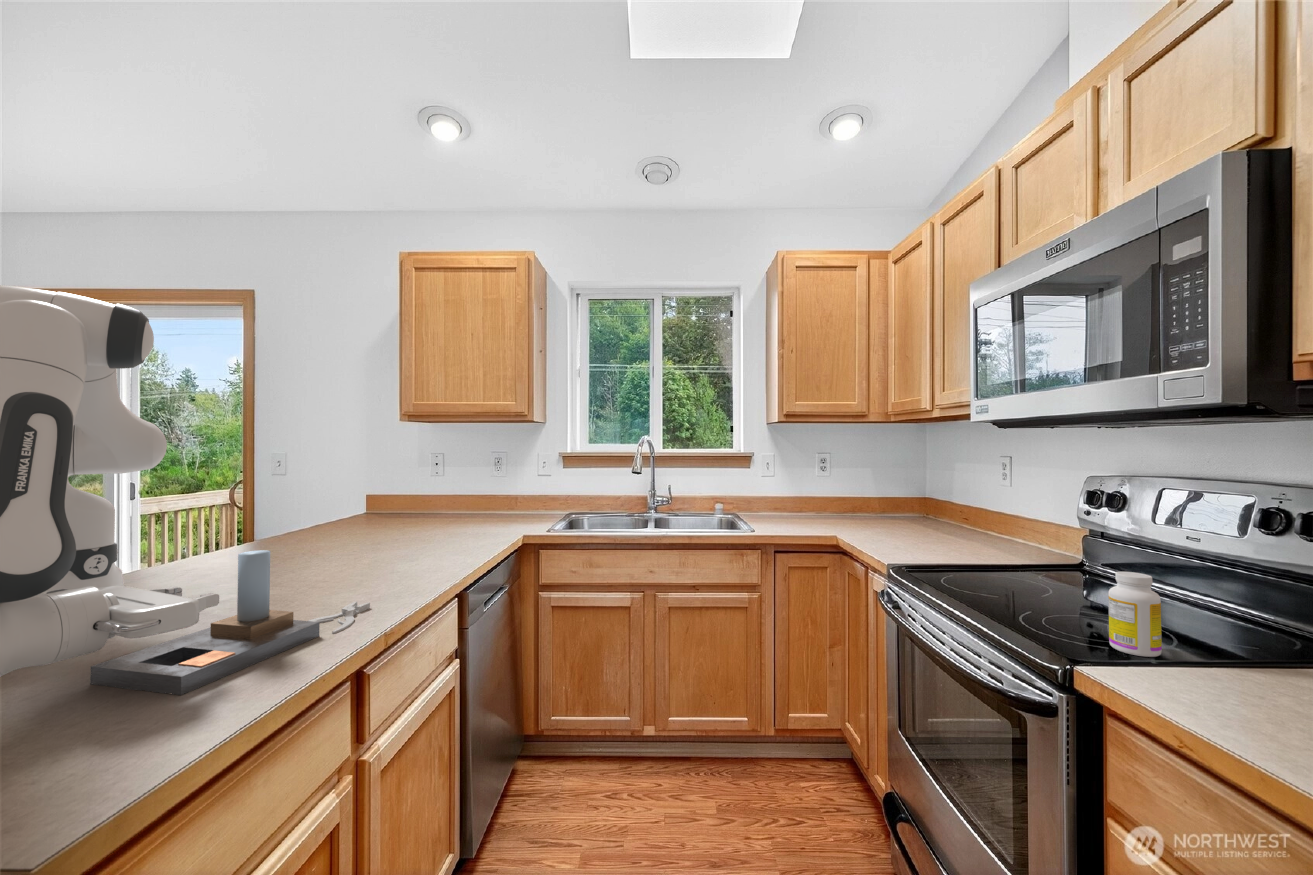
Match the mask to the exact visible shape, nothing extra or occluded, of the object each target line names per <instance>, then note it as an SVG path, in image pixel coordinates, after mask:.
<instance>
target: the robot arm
mask: <svg viewBox="0 0 1313 875" xmlns="http://www.w3.org/2000/svg"><path fill="white" fill-rule="evenodd" d="M149 320H150V319H149V318H148V317H147V316H146V315H145V314H144V313H143V312H142V311H140V310H138V309H136V308H133V307H131V306H127V305H125V304H122V303H121V304H120V303H116V304H113V303H109V302H106V301H103V300H99V299H94V298H91V297H87V296H82V295H78V294H73V293H68V292H63V291H57V292H56V291H51V290H45V289H37V288H31V287H22V286H15V285H14V286H13V285H2V284H1V285H0V677H2V676H4V675H7V674H9V673H11V672H14V671H16V670H19V669H23V668H28V667H29V668H30V667H40V666H46V665H50V664H54V663H59V662H62V661H65V660H69V659H74V658H77V657H81V656H84V655H87V654H91V653H96V652H99V651H100V650H101V649H102V648H104V647H105V645H106V643H107V641H108V640H109V639H112V638H115V636H117V637H121V638H125V639H141V638H147V637H151V636H157V635H160V634H161V635H162V634H166V633H170V632H175V631H179V630H183V629H187V628H191V627H193V626H194V625H196V624H198V623H199V622H200V613H201V612H203V611H204V610H206V609H209V608H212V607H216V606H218V605H219V604H220V595H219V594H218V593H214V592H210V593H205V594H201V595H199V596H198V597H195V598H191V597H186V596H183V588H182V587H180V586H175V585H174V586H170V587H163V588H162V587H161V588H148V589H145V588H139V587H134V586H129V585H124V584H125V583H124V575H123V570H122V569H121V568H120V567H119V566H117V565H116V562H118V554H119V549H118V543H116V542H115V529H116V528H115V527H116V526H115V524H116V522H115V521H116V520H115V518H116V516H115V515H116V510H115V507H114V505H113V503H112V502H111V501H109V499H107V498H105V497H103V496H101V495H98V494H95V493H93V492H88V491H85V490H82V489H79V488H76V487H74V486H73V485H72V484H71V483H70V480H69V478H70V477H71V476H76V475H107V474H108V475H111V474H112V475H113V474H115V475H116V474H128V473H134V472H141V471H146V470H151V469H154V468H155V467H157V465H158V464H160V463H161V461H162V460H163V459H164V457H165V456H166V453H167V448H168V442H167V439H166V438H167V437H166V436H165V434H164V433H163V431H162V430H161V429H160V428H159V427H158V426H157V425H156V424H154V423H152V422H149V421H147V420H145V419H143V418H141V417H139V416H138V415H136V414H135V413H133V412H132V411H131V410H130V409H128V407H126V405H125V404H124V403H123V401H122V400H121V397H120V393H119V387H118V378H117V377H118V376H117V375H118V374H117V370H118V369H120V370H122V369H132V368H135V367H138V366H139V365H141V364H143V363H145V359H146V358H147V357H149V354H150V353H151V351H152V350H153V346H154V344H155V343H154V342H155V341H154V340H155V337H154V332H153V328H152V326H151V325H150V321H149Z"/></svg>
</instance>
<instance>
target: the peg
mask: <svg viewBox="0 0 1313 875" xmlns="http://www.w3.org/2000/svg"><path fill="white" fill-rule="evenodd" d="M237 563H238V564H237V600H236V602H237V605H236V606H237V611H236V613H237V614H236V615H237V621H241V622H247V621H255V620H260V619H263V618H266V617H268V616H269V610H270V604H271V603H270V602H271V601H270V598H271V596H270V595H271V593H270V591H271V590H270V589H271V550H266V549H265V550H263V549H262V550H251V551H250V550H249V551H244V552H240V553H238V556H237Z"/></svg>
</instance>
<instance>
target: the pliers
mask: <svg viewBox="0 0 1313 875" xmlns="http://www.w3.org/2000/svg"><path fill="white" fill-rule="evenodd" d="M370 608H371V603H370V602H365V603H361V604H359V605H358V601H353V602H351V603H349V604H347V605H345V606H343V607H342V608H341V611H340V612H339V613H334V614H331V615H330V614H329V615H324V616H320V617H316V618H313V619H308V620H307V621H313V622H320V624H322V623H326V622H327V623H328V622H332V621H334V619H337V622H338V624H339V625H340V626H338V627H337V628H336V629H334V630H332V631H331V634H337V633H339V632H342V631H343V630H345V629H348V628H349V627H350V626H352V625H353V624H354V623H355V615H357V614H360V613H362V612H364V611H367V610H369V609H370ZM340 617H344V621H342V620H341V619H340Z"/></svg>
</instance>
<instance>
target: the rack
mask: <svg viewBox="0 0 1313 875" xmlns="http://www.w3.org/2000/svg"><path fill="white" fill-rule="evenodd" d="M320 625H321V623H320V622H313V621H308V620H302V619H301V620H300V619H299V620H298V619H294V611H289V610H288V611H287V610H286V611H285V610H276V609H269V616H268V617H266V618H263V619H260V620H255V621H247V622H241V621H237V614H235V615H233V616H232V615H231V616H229V617H227V618H222V619H219V620H217V621H214V622H211V623H210V627H207V628H204V629H201V630H198V631H195V632H191V633H189V634H186V635H185V634H184V635H182V636H180V637H177V638H173V639H171V640H167V641H164V642H161V643H158V644H155V645H152V646H150V647H146V648H143V649H141V650H137V651H134V652H131V653H127V654H125V655H124V654H123V655H121V656H118V657H116V658H112V659H109V660H106V661H103V662H100V663H97V664H93V665H91V666H90V673H89V674H90V676H89V679H90V681H89V684H90V685H93V686H94V685H95V686H101V687H108V688H109V687H111V688H118V689H120V688H121V689H126V690H134V691H142V690H145V691H144V692H150V691H153V692H152V693H158V692H159V694H166V693H172V694H171V695H174V694H176V696H183V695H185V694H187V693H189V692H192V691H194V690H197V689H199V688H201V686H202V687H204V686H206V685H208V683H209V684H210V683H213V682H216V681H217V680H220V679H222V678H224V677H226V676H230V675H231V674H234V673H237V672H238V671H241V670H243V669H247V668H248V667H250V666H253V665H256V664H257V663H260V662H262V661H264V660H267V659H268V658H269V659H270V658H272V657H274V656H277V655H278V654H281V653H283V652H285V651H288V650H290V649H292V648H295V647H297V646H300V645H302V644H305V643H306V642H309V641H311V640H314V639H316V638H319V637H320ZM184 693H185V694H184ZM182 694H183V695H182Z"/></svg>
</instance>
